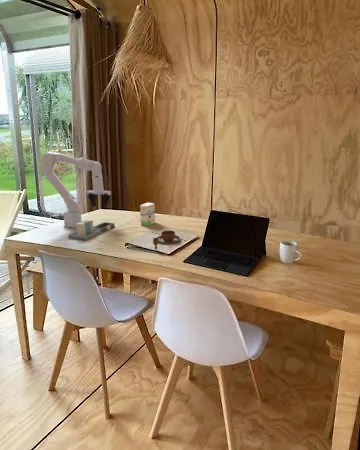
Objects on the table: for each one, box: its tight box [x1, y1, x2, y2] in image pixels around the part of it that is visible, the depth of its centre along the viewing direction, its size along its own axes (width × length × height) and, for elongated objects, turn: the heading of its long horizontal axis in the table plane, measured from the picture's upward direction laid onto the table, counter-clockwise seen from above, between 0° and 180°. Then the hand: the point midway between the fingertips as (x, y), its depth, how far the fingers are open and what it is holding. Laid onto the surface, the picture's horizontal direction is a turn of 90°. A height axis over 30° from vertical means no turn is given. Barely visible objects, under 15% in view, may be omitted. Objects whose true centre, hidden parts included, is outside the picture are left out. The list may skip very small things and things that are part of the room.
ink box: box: [139, 202, 156, 227], centre depth 212 cm, size 9×5×12 cm, turn 153°
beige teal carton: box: [75, 218, 94, 236], centre depth 194 cm, size 4×9×7 cm, turn 157°
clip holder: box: [93, 221, 115, 233], centre depth 206 cm, size 7×12×2 cm, turn 157°
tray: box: [68, 229, 102, 241], centre depth 194 cm, size 11×14×2 cm
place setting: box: [152, 230, 181, 251], centre depth 181 cm, size 18×20×6 cm
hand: (100, 206), depth 212 cm, fingers open, 7 cm apart
